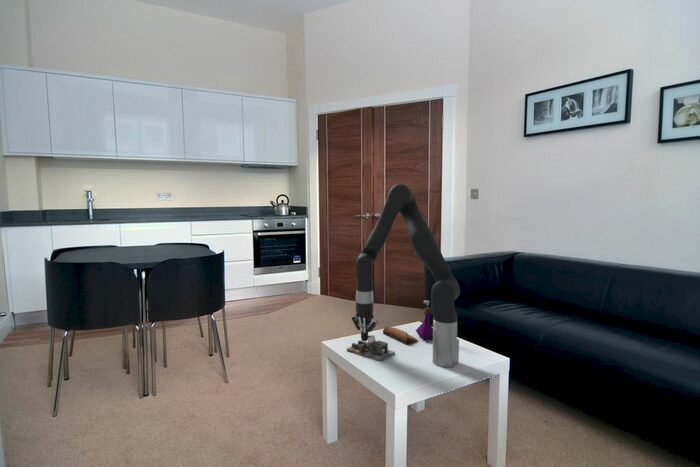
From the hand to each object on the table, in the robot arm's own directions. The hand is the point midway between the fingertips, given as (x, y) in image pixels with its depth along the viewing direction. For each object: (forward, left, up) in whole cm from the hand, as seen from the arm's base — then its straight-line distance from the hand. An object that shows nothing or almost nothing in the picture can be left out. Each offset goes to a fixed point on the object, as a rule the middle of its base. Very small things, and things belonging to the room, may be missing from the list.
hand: (364, 340), depth 168 cm
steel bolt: (-6, 0, -3) cm, 7 cm away
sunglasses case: (-3, -24, -5) cm, 25 cm away
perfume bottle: (-13, -30, -5) cm, 33 cm away
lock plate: (-3, 0, -5) cm, 6 cm away
